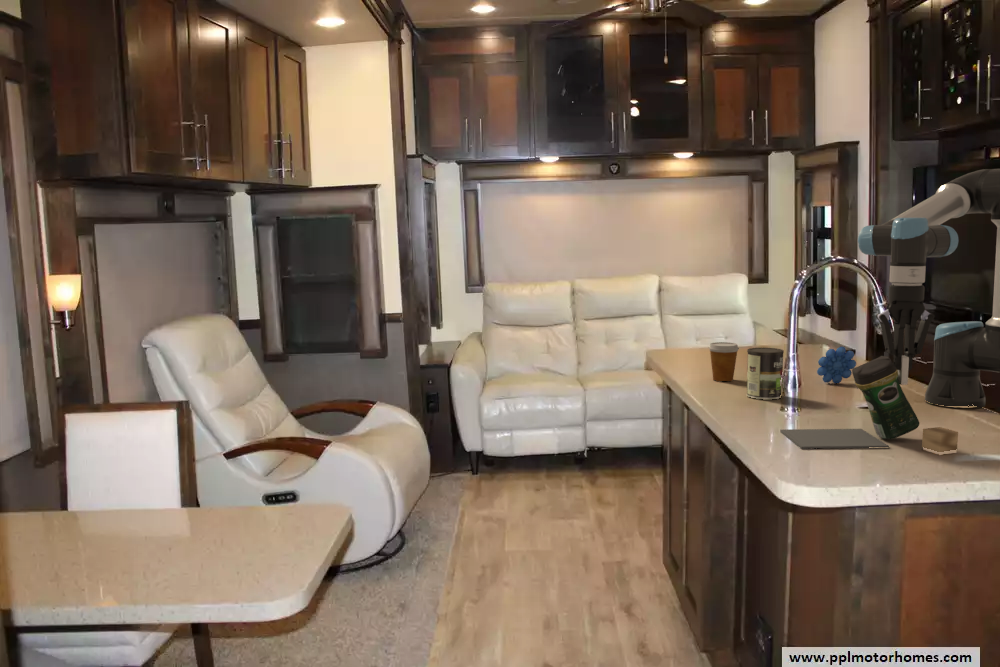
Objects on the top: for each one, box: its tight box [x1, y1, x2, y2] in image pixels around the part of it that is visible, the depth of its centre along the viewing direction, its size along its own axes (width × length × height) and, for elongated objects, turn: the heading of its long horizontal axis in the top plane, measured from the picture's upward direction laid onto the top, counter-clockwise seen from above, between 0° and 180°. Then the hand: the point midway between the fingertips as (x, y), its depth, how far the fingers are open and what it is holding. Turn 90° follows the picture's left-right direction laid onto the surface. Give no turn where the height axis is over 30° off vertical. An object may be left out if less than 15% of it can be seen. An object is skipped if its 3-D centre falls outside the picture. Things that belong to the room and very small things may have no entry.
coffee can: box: [746, 347, 784, 401], centre depth 254 cm, size 10×10×14 cm
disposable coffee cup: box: [708, 341, 739, 382], centre depth 280 cm, size 10×10×12 cm
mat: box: [780, 428, 890, 450], centre depth 205 cm, size 20×16×1 cm
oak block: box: [921, 426, 959, 452], centre depth 193 cm, size 5×5×5 cm
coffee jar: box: [851, 355, 920, 440], centre depth 203 cm, size 10×8×19 cm
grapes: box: [816, 346, 857, 384], centre depth 272 cm, size 12×7×12 cm, turn 78°
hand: (901, 383), depth 203 cm, fingers closed
